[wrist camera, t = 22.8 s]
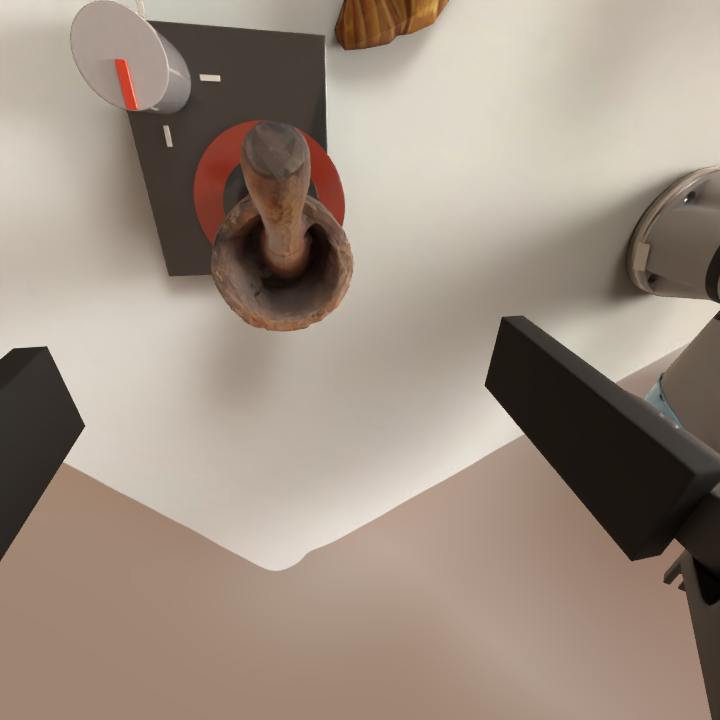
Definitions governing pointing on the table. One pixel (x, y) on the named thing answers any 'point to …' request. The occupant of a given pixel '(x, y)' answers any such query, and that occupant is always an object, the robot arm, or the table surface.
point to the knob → (128, 59)
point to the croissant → (383, 20)
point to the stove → (222, 117)
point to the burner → (227, 183)
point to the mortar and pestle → (280, 238)
